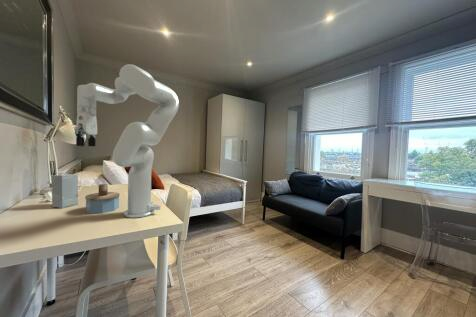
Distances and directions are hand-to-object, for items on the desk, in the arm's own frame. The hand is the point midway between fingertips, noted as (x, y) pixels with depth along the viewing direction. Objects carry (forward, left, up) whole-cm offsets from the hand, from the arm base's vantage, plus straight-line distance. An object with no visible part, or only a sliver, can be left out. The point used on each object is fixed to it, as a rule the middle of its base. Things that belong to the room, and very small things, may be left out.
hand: (86, 146), depth 99 cm
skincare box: (+11, -2, -31) cm, 33 cm away
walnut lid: (-10, +6, -24) cm, 27 cm away
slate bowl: (-10, +6, -30) cm, 33 cm away
